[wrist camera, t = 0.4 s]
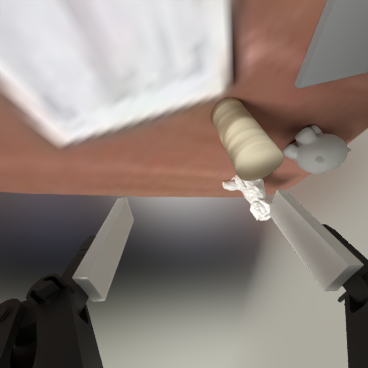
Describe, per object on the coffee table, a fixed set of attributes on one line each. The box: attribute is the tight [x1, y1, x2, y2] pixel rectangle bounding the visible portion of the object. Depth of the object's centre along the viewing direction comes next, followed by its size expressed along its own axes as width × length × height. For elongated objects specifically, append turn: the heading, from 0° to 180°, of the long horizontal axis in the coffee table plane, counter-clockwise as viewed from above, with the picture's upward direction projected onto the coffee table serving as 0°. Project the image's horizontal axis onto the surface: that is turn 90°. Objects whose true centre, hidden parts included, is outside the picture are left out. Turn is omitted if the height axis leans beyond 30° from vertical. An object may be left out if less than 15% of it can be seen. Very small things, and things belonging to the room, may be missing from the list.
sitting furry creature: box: [223, 175, 271, 221], centre depth 35 cm, size 10×9×12 cm
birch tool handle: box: [211, 97, 284, 181], centre depth 21 cm, size 5×5×12 cm
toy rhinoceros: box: [283, 125, 351, 173], centre depth 29 cm, size 7×12×8 cm, turn 76°
